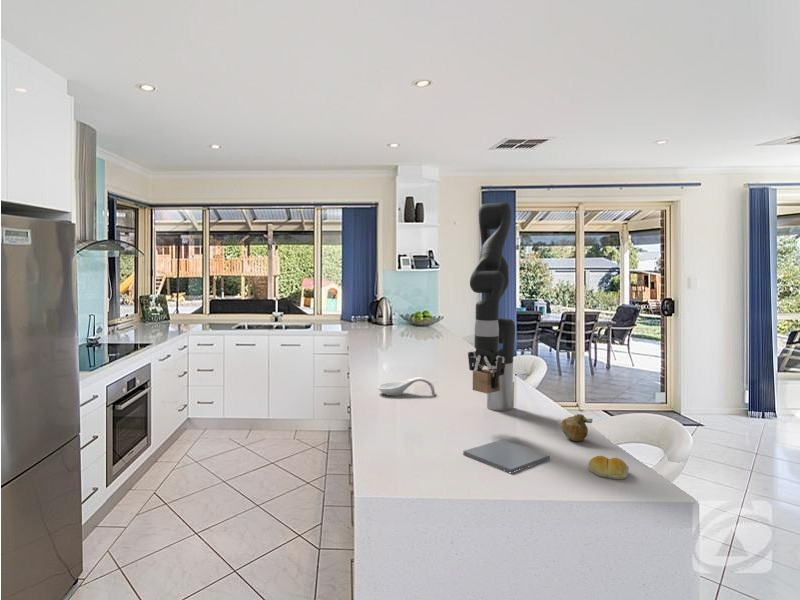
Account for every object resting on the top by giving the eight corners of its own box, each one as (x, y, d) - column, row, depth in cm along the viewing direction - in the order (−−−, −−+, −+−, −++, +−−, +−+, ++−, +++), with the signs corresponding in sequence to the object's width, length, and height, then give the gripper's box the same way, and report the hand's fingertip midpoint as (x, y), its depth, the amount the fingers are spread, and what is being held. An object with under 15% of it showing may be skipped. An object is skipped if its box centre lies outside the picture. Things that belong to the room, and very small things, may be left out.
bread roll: (591, 464, 124) (592, 449, 124) (629, 472, 120) (630, 456, 119) (584, 474, 118) (585, 458, 117) (625, 483, 113) (625, 466, 113)
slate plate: (501, 442, 140) (502, 439, 140) (549, 459, 127) (549, 455, 127) (463, 454, 130) (463, 450, 130) (510, 473, 117) (510, 469, 117)
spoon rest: (377, 397, 193) (377, 380, 193) (378, 391, 205) (378, 374, 205) (435, 398, 193) (436, 380, 193) (433, 391, 205) (434, 375, 205)
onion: (575, 434, 149) (575, 408, 148) (594, 442, 141) (595, 415, 141) (555, 436, 146) (555, 410, 146) (573, 445, 138) (574, 417, 138)
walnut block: (485, 387, 157) (485, 368, 156) (499, 390, 152) (499, 371, 152) (472, 389, 153) (472, 371, 153) (487, 393, 148) (487, 374, 148)
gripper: (512, 335, 148) (511, 389, 149) (477, 330, 159) (477, 380, 160) (496, 337, 144) (496, 392, 144) (461, 332, 155) (461, 384, 156)
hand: (486, 386), depth 152 cm, fingers closed on walnut block, 6 cm apart
